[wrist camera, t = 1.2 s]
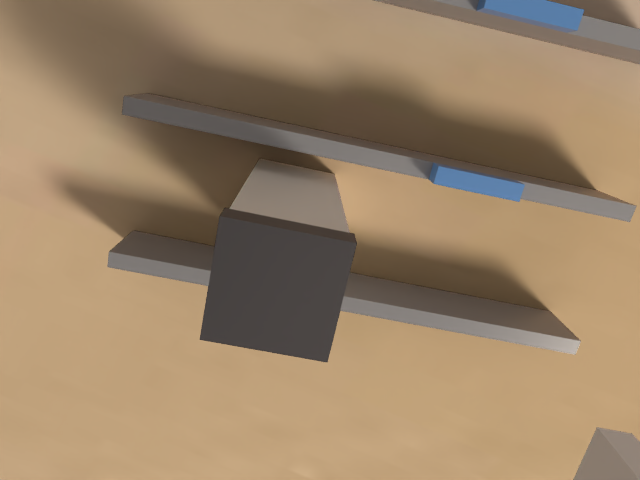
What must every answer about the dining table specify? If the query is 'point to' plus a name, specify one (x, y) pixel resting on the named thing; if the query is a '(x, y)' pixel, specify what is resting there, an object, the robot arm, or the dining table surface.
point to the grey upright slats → (385, 295)
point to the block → (280, 264)
